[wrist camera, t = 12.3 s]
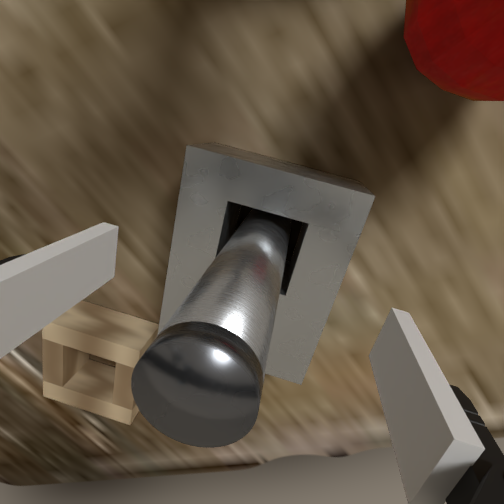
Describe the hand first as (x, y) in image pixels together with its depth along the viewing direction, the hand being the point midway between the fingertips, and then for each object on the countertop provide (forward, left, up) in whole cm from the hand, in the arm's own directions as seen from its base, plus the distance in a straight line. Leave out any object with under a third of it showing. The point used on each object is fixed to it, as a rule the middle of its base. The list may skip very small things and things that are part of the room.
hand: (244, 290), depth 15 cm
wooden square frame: (-12, -17, -11) cm, 24 cm away
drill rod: (0, 0, -11) cm, 11 cm away
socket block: (0, -2, -11) cm, 11 cm away
